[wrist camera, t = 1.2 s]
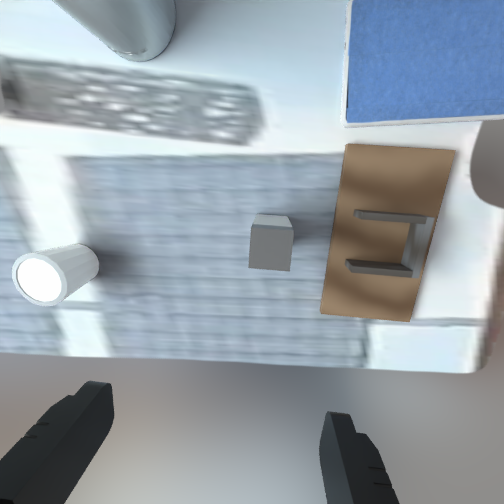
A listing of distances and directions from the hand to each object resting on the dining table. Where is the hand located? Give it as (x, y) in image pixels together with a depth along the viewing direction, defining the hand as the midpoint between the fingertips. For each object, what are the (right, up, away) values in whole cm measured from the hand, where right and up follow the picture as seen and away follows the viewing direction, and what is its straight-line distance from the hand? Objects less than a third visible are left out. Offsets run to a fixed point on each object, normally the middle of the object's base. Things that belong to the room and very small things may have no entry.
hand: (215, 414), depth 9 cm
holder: (+18, +8, +24) cm, 31 cm away
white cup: (-24, +4, +28) cm, 37 cm away
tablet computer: (+21, +27, +19) cm, 39 cm away
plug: (+4, +9, +24) cm, 26 cm away
